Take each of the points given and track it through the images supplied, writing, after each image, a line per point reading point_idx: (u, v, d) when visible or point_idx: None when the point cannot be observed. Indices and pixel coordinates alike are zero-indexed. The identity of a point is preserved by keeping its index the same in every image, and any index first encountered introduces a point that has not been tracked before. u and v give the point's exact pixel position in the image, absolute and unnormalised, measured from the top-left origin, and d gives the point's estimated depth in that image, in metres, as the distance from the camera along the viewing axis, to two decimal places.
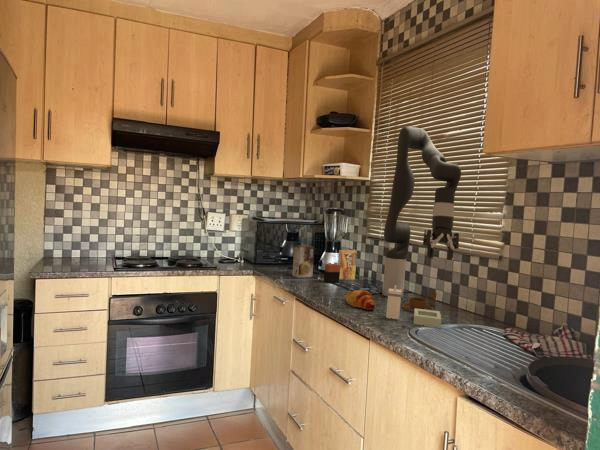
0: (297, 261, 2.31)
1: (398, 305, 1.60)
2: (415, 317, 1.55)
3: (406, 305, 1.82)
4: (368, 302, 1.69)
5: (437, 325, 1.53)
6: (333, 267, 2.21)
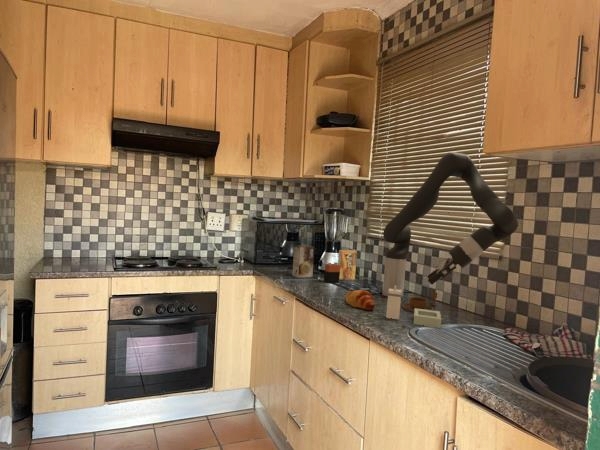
0: (297, 261, 2.31)
1: (398, 305, 1.60)
2: (415, 317, 1.55)
3: (406, 305, 1.82)
4: (368, 302, 1.69)
5: (437, 325, 1.53)
6: (333, 267, 2.21)
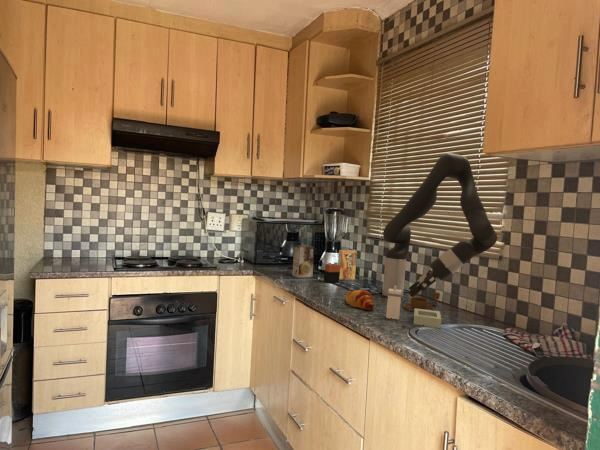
0: (297, 261, 2.31)
1: (398, 305, 1.60)
2: (415, 317, 1.55)
3: (408, 305, 1.82)
4: (367, 302, 1.69)
5: (437, 325, 1.53)
6: (333, 267, 2.21)
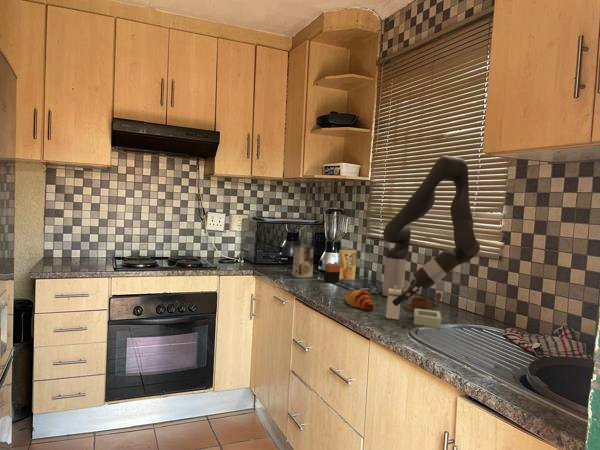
0: (297, 261, 2.31)
1: (398, 305, 1.60)
2: (415, 317, 1.55)
3: (409, 305, 1.83)
4: (366, 302, 1.69)
5: (437, 325, 1.53)
6: (333, 267, 2.21)
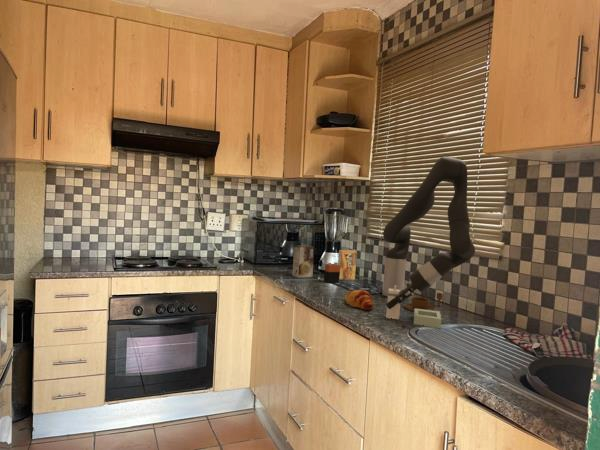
0: (297, 261, 2.31)
1: (398, 305, 1.60)
2: (415, 317, 1.55)
3: (409, 305, 1.83)
4: (366, 302, 1.69)
5: (437, 325, 1.53)
6: (333, 267, 2.21)
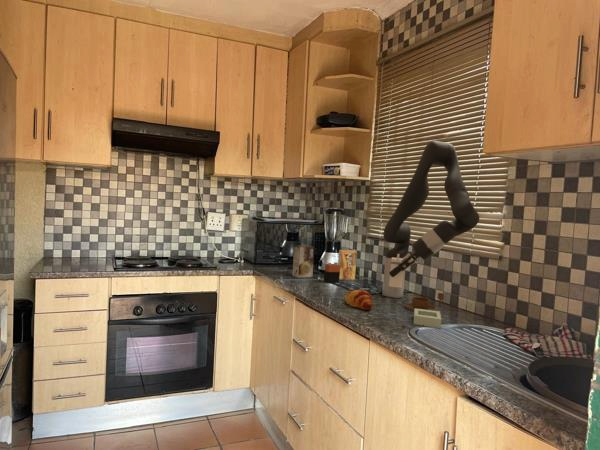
0: (297, 261, 2.31)
1: (401, 273, 1.59)
2: (415, 317, 1.55)
3: (410, 305, 1.83)
4: (365, 302, 1.69)
5: (437, 325, 1.53)
6: (333, 267, 2.21)
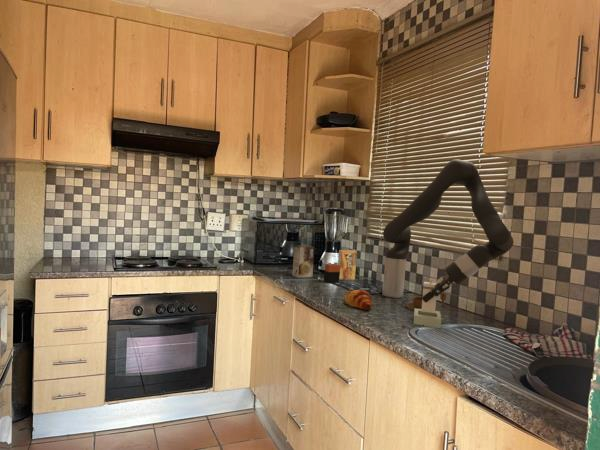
0: (297, 261, 2.31)
1: (434, 298, 1.56)
2: (415, 317, 1.55)
3: (412, 304, 1.84)
4: (364, 302, 1.69)
5: (437, 325, 1.53)
6: (333, 267, 2.21)
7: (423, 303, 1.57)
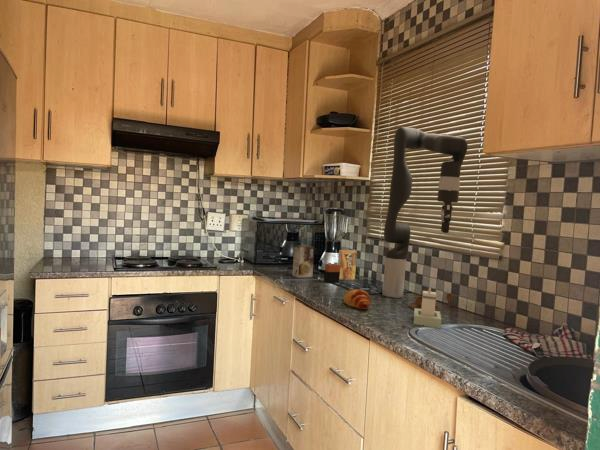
0: (297, 261, 2.31)
1: (433, 308, 1.57)
2: (415, 317, 1.55)
3: (416, 304, 1.85)
4: (361, 301, 1.69)
5: (437, 325, 1.53)
6: (333, 267, 2.21)
7: (422, 312, 1.58)
